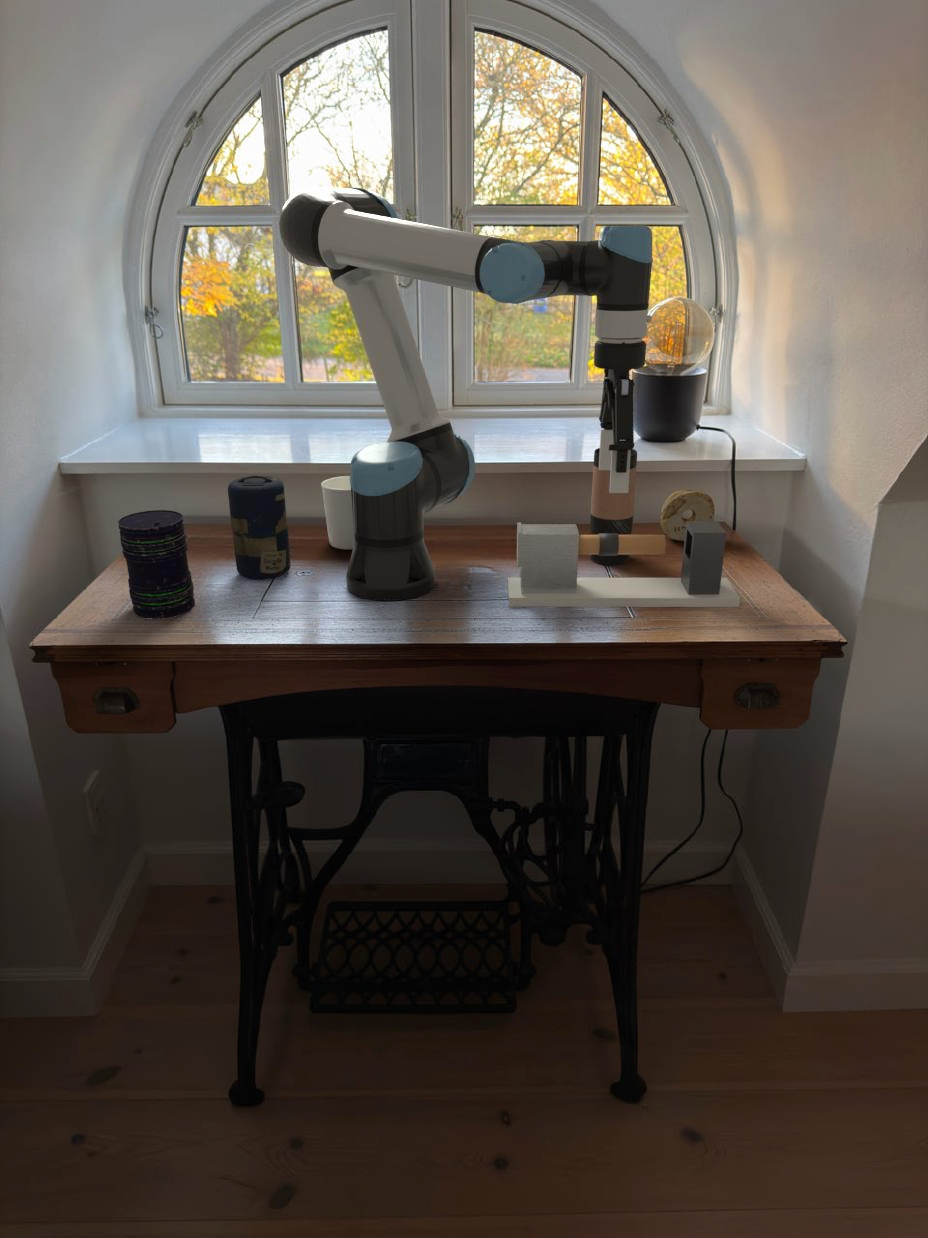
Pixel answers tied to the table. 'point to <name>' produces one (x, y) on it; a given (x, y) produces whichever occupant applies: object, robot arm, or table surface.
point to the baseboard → (624, 594)
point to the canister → (259, 527)
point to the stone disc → (678, 505)
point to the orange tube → (621, 544)
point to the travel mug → (611, 507)
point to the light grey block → (548, 558)
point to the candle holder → (339, 511)
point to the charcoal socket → (703, 557)
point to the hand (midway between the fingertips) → (612, 480)
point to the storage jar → (157, 563)
